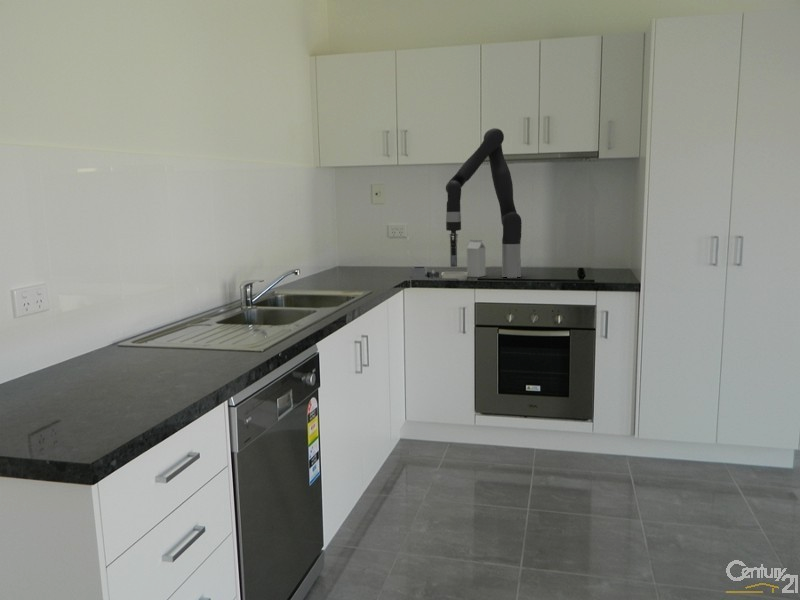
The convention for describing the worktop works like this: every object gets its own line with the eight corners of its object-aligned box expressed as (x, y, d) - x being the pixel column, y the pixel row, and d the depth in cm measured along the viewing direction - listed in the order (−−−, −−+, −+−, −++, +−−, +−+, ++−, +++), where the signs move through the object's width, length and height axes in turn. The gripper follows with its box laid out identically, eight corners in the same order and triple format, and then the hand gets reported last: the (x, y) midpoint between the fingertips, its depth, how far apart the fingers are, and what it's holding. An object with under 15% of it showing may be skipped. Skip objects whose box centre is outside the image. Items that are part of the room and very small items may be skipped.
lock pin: (457, 266, 343) (457, 242, 342) (457, 266, 340) (456, 243, 338) (450, 266, 344) (450, 242, 342) (450, 266, 341) (450, 243, 339)
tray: (467, 277, 348) (467, 271, 348) (466, 280, 336) (466, 274, 336) (442, 277, 350) (442, 271, 349) (440, 280, 338) (440, 274, 338)
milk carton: (478, 277, 346) (478, 240, 343) (466, 276, 351) (466, 240, 348) (485, 276, 352) (485, 239, 349) (473, 275, 356) (473, 239, 353)
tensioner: (440, 277, 350) (440, 266, 349) (439, 280, 340) (438, 268, 339) (413, 277, 352) (413, 266, 351) (411, 280, 342) (411, 268, 341)
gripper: (460, 221, 331) (460, 256, 334) (461, 220, 345) (461, 253, 348) (445, 221, 332) (445, 256, 335) (447, 220, 346) (447, 253, 349)
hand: (453, 254), depth 341 cm, fingers closed on lock pin, 3 cm apart
